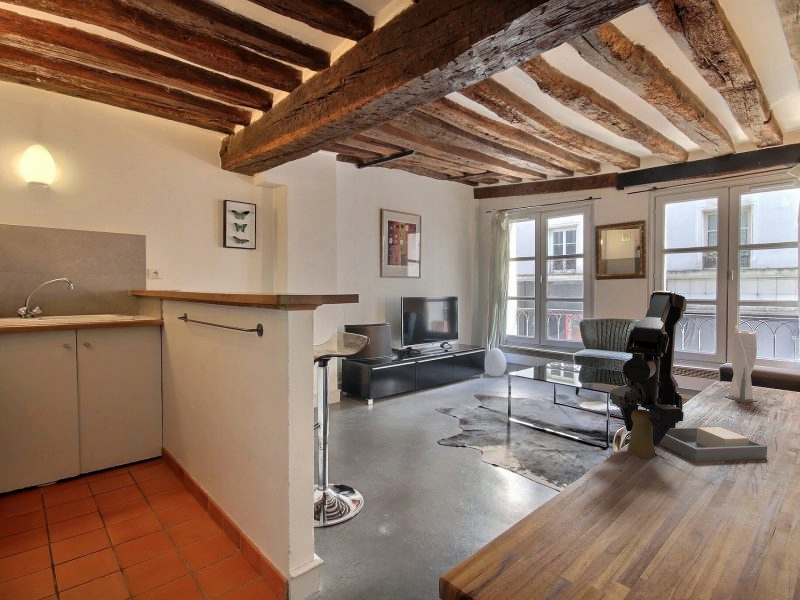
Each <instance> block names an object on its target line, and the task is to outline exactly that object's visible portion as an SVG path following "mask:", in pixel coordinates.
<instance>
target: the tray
mask: <svg viewBox="0 0 800 600" xmlns="http://www.w3.org/2000/svg"><path fill="white" fill-rule="evenodd" d="M703 427H704V426H694V427H693V426H691V427H690V426H689V427H686V426H685V427H675V428H670V429H669V430H668V432H667V433H666V434H665V436H664V437H663V439H662V440H661V442H660V443H659V444H658V445H661V446H663V447H664V448H666V449H669V450H670V451H673V452H675V453H677V454H679V455H681V456H682V457H685V458H686V459H689V460H690V461H693V462H694V463H704V462H706V463H707V462H709V463H710V462H726V461H727V462H729V461H745V460H746V461H747V460H766V459H767V456H768V455H767V454H768V445H764V444H762V443H760V442H757V441H754V440H752V439H749V441H748V446H732V447H709V448H707V447H705V446H703V445H701V444H698V443H696V437H697V428H703ZM652 431H653V428H652Z"/></svg>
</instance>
